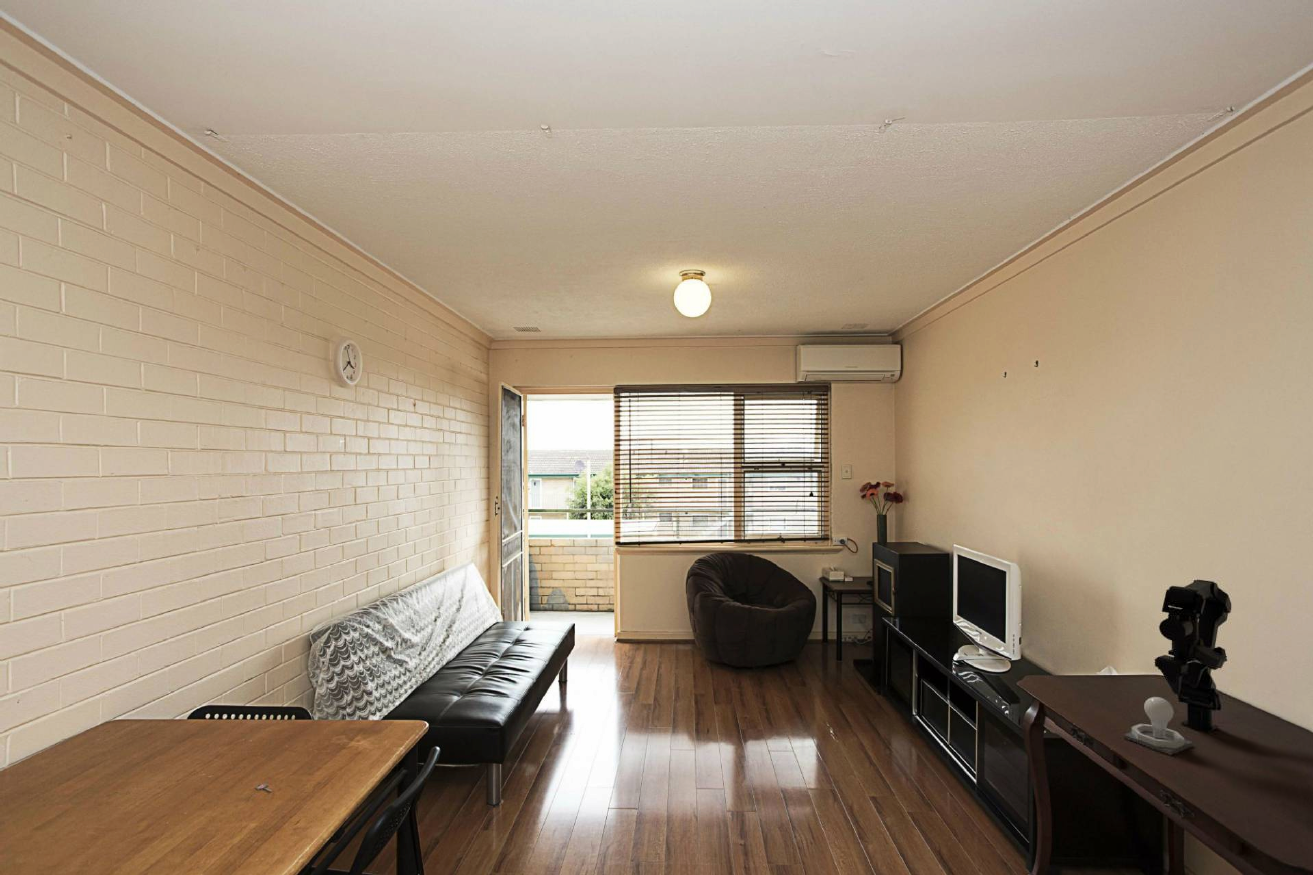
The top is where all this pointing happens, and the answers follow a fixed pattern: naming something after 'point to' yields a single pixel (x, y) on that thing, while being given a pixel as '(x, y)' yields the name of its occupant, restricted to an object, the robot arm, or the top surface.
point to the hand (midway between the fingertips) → (1185, 691)
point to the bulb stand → (1167, 745)
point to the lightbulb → (1159, 715)
